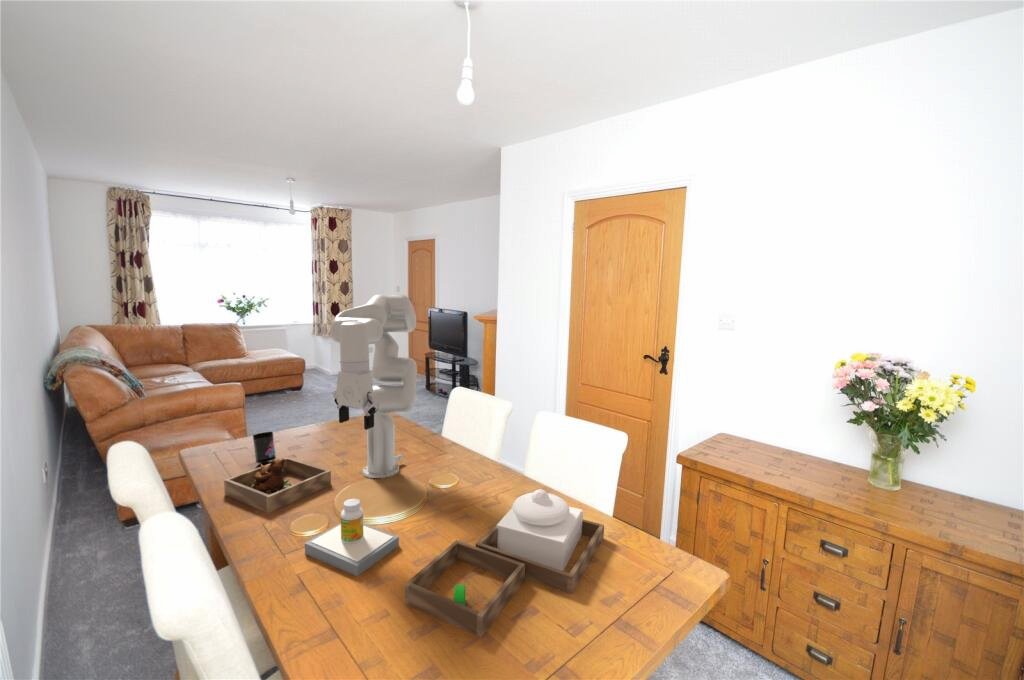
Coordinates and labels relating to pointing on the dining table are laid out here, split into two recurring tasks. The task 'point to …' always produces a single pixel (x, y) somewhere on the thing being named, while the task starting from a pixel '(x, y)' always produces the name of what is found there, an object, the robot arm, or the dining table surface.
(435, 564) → the tray
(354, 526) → the supplement bottle
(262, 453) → the supplement container
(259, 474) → the bear figurine
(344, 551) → the plinth
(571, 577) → the dish tray frame
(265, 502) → the brown wooden tray
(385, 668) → the dining table surface
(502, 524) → the butter dish
